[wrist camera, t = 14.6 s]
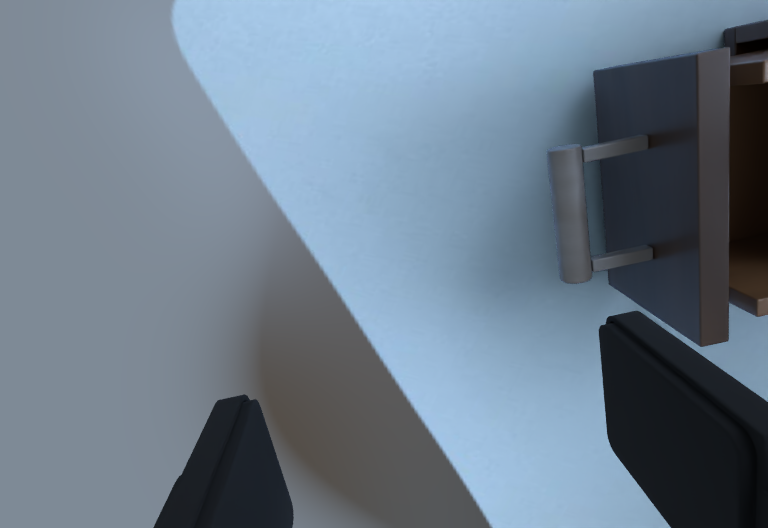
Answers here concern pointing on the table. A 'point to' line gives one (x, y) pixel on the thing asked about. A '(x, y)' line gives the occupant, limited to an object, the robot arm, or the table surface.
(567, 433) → the table surface
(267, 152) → the table surface
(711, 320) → the drawer
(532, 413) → the table surface
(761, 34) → the cabinet
